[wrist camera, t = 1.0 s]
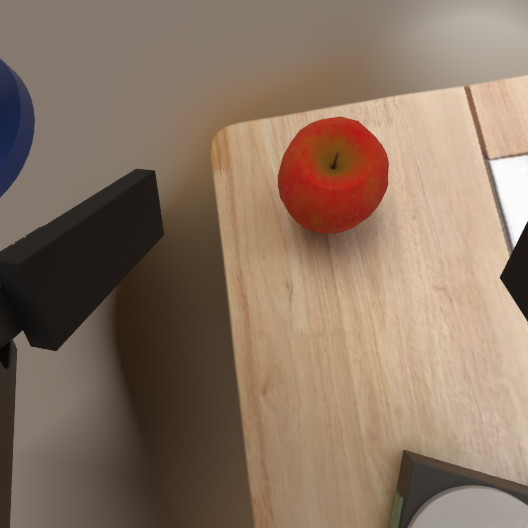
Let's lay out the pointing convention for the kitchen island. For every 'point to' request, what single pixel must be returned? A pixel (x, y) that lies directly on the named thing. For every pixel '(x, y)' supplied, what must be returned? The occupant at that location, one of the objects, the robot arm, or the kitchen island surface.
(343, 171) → the apple
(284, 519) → the kitchen island surface
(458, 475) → the kitchen scale
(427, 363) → the kitchen island surface
